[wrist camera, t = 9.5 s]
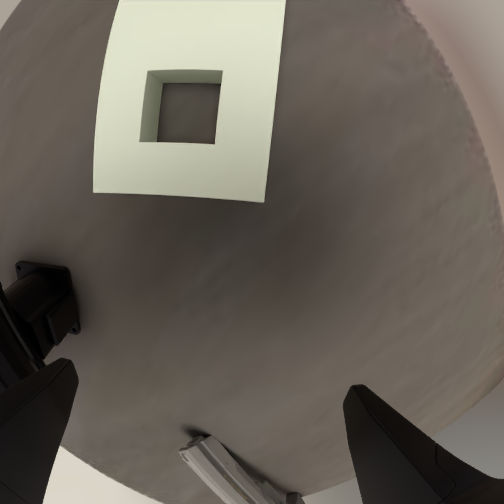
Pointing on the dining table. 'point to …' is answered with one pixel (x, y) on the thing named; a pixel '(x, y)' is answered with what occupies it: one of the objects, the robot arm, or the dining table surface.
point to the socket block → (188, 71)
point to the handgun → (229, 475)
